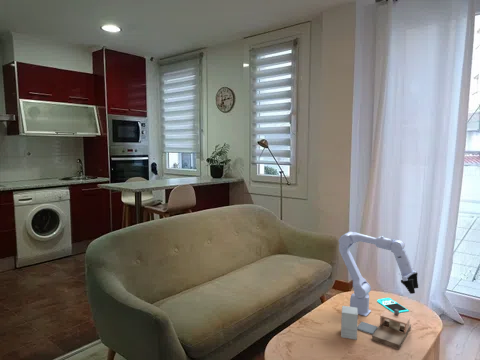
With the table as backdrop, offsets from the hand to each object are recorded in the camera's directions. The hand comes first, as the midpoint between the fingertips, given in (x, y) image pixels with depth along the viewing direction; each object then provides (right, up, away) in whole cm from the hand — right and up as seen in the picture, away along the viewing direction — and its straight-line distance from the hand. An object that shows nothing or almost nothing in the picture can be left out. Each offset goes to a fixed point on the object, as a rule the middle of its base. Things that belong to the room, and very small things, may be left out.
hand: (414, 290), depth 167 cm
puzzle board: (-13, -20, -3) cm, 24 cm away
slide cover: (-10, -17, -1) cm, 20 cm away
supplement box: (-34, -20, -4) cm, 40 cm away
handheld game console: (0, -17, +25) cm, 30 cm away
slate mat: (-23, -19, +1) cm, 30 cm away
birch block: (-10, -20, 0) cm, 22 cm away
